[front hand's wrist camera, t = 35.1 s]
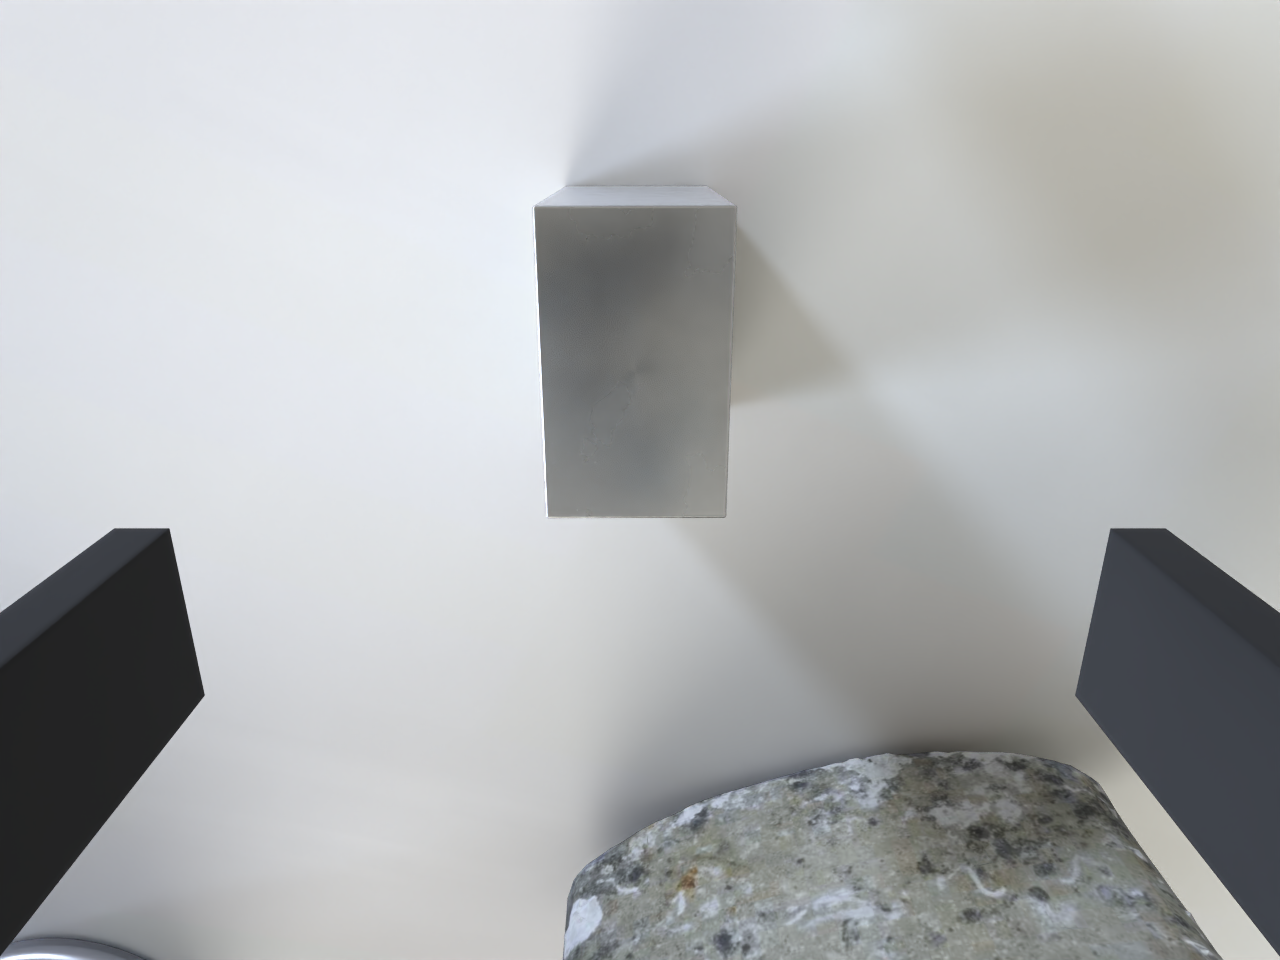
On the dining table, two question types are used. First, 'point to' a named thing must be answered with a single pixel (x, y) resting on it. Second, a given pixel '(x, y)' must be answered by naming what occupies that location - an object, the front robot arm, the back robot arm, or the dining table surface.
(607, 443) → the brick
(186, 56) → the dining table surface
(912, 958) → the concrete block
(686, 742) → the dining table surface
